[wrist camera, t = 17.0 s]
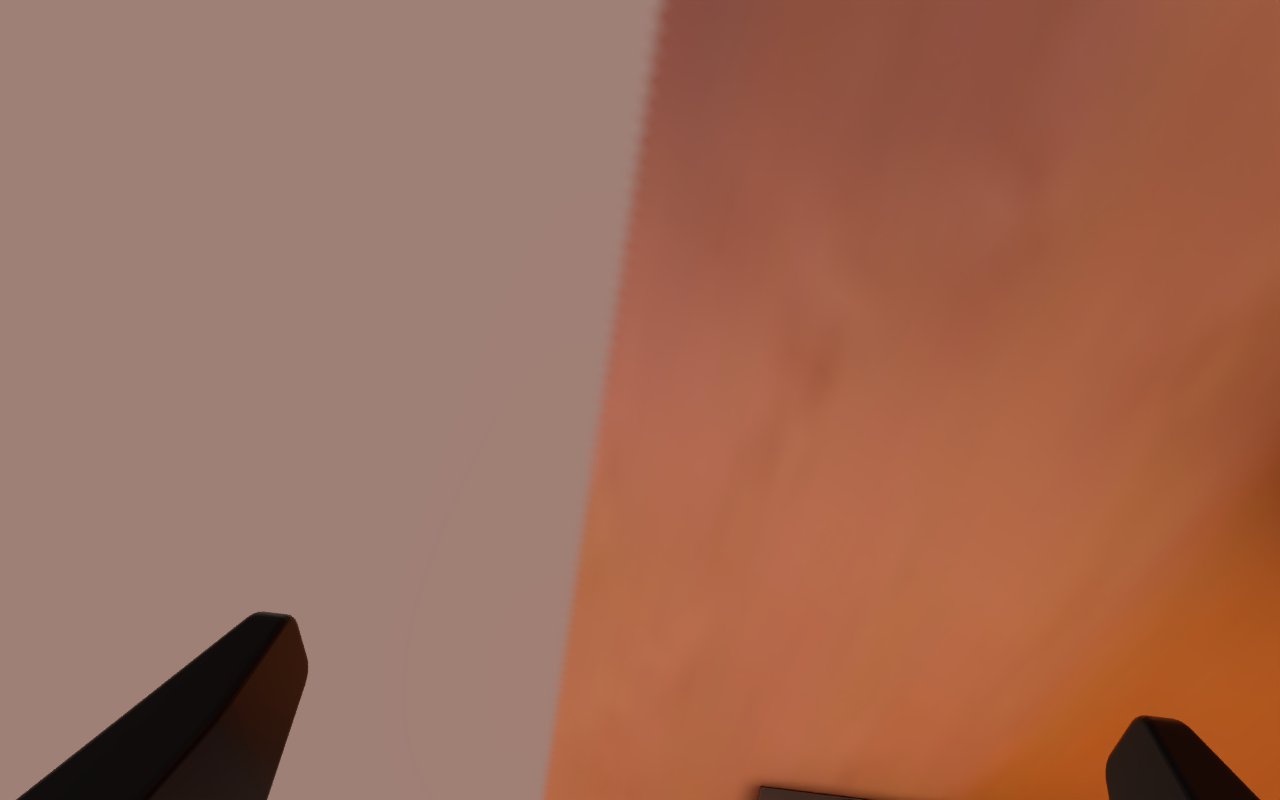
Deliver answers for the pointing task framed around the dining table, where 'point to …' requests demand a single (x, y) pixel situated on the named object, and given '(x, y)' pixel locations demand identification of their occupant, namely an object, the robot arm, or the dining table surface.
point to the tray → (794, 795)
